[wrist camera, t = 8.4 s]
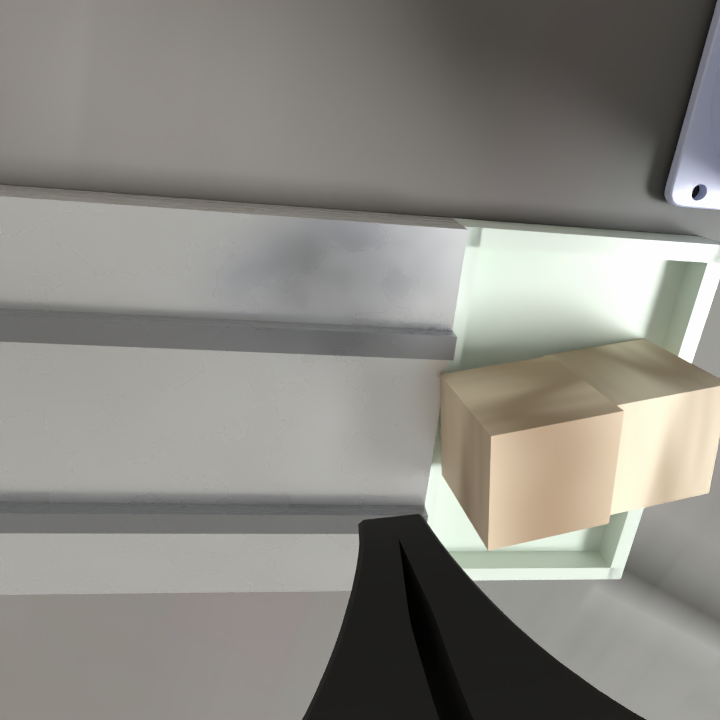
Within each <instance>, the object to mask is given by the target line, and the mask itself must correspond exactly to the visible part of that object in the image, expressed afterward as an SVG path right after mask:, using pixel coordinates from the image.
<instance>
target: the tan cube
mask: <svg viewBox="0 0 720 720" xmlns="http://www.w3.org/2000/svg"><path fill="white" fill-rule="evenodd" d="M440 400H441V468H442V476H443V478H444V479H445V481H446V483H447V484H448V486H449V487H450V489H451V491H452V492H453V494H454V496H455V497H456V499H457V501H458V502H459V504H460V506H461V507H462V509H463V510H464V512H465V514H466V515H467V517H468V519H469V520H470V522H471V524H472V525H473V527H474V529H475V530H476V532H477V534H478V535H479V537H480V538H481V540H482V542H483V543H484V545H485V547H486V548H487V550H488V551H490V550H494V549H498V548H503V547H507V546H512V545H516V544H520V543H525V542H529V541H534V540H538V539H543V538H547V537H551V536H556V535H560V534H565V533H569V532H573V531H578V530H582V529H587V528H591V527H596V526H600V525H604V524H609V520H610V513H611V505H612V498H613V490H614V483H615V475H616V468H617V460H618V453H619V446H620V438H621V431H622V423H623V416H624V410H622V409H621V408H620V407H618V406H617V405H616V404H614V403H613V402H612V401H610V400H609V399H608V398H607V397H605V396H604V395H603V394H601V393H600V392H599V391H597V390H596V389H595V388H593V387H592V386H591V385H590V384H588V383H587V382H586V381H584V380H583V379H582V378H580V377H579V376H578V375H576V374H575V373H574V372H573V371H571V370H570V369H569V368H567V367H566V366H565V365H563V364H562V363H561V362H559V361H558V360H557V359H556V358H554V357H553V356H552V355H551V356H545V357H540V358H534V359H528V360H522V361H516V362H510V363H504V364H498V365H492V366H486V367H480V368H474V369H468V370H462V371H457V372H451V373H445V374H440Z"/></svg>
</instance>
